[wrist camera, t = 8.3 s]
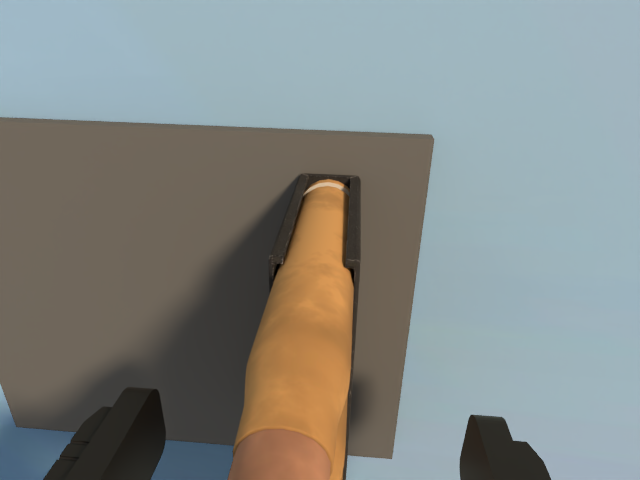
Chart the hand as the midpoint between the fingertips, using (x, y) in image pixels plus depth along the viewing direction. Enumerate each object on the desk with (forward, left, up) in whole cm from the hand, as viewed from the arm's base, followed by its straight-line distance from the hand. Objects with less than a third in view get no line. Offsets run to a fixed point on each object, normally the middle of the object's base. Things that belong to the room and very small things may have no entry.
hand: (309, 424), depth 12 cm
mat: (+5, 0, -5) cm, 7 cm away
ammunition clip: (0, 0, -5) cm, 5 cm away
